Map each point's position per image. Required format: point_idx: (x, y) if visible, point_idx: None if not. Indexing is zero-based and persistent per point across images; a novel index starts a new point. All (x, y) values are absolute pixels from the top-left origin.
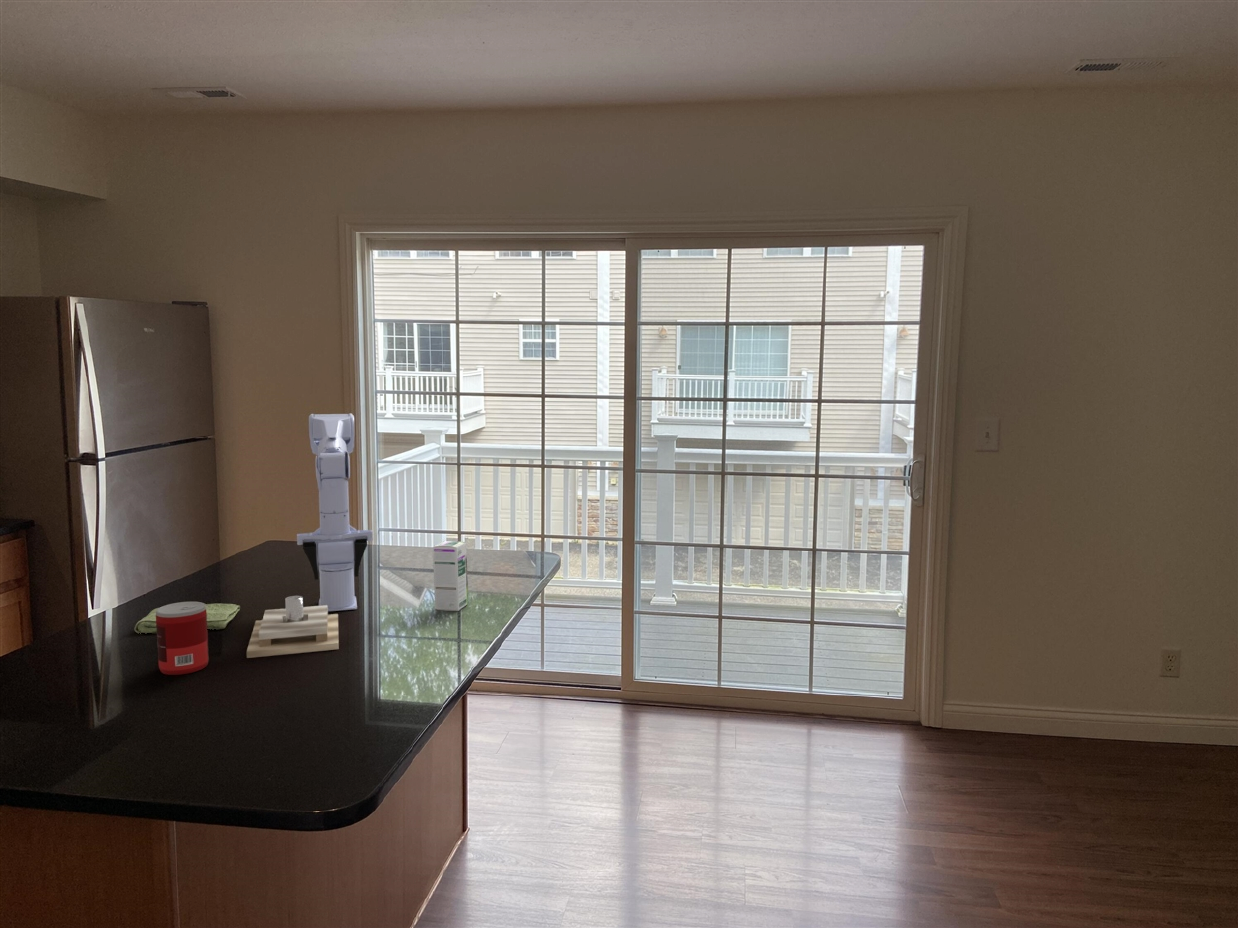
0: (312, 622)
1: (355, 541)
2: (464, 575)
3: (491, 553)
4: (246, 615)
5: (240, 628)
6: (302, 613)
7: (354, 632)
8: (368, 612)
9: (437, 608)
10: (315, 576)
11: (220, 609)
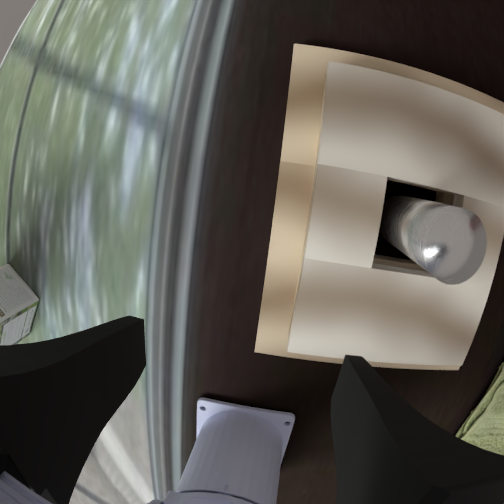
0: (373, 145)
1: (5, 465)
2: None
3: None
4: None
5: (480, 357)
6: (406, 215)
7: (228, 189)
8: (172, 362)
9: (34, 295)
10: (364, 363)
11: (484, 436)
